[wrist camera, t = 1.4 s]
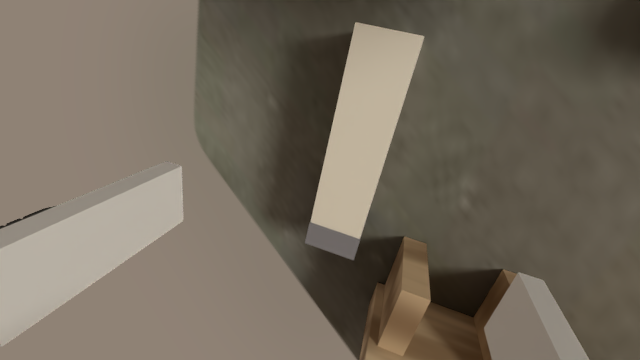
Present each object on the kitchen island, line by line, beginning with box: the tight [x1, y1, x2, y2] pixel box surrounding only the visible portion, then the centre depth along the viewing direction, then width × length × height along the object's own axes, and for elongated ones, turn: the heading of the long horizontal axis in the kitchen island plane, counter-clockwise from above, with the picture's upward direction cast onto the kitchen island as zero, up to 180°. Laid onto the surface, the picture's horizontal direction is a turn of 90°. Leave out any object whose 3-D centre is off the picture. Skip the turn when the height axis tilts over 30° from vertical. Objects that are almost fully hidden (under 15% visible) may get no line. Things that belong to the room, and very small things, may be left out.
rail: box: [305, 22, 424, 260], centre depth 22 cm, size 16×4×5 cm, turn 168°
